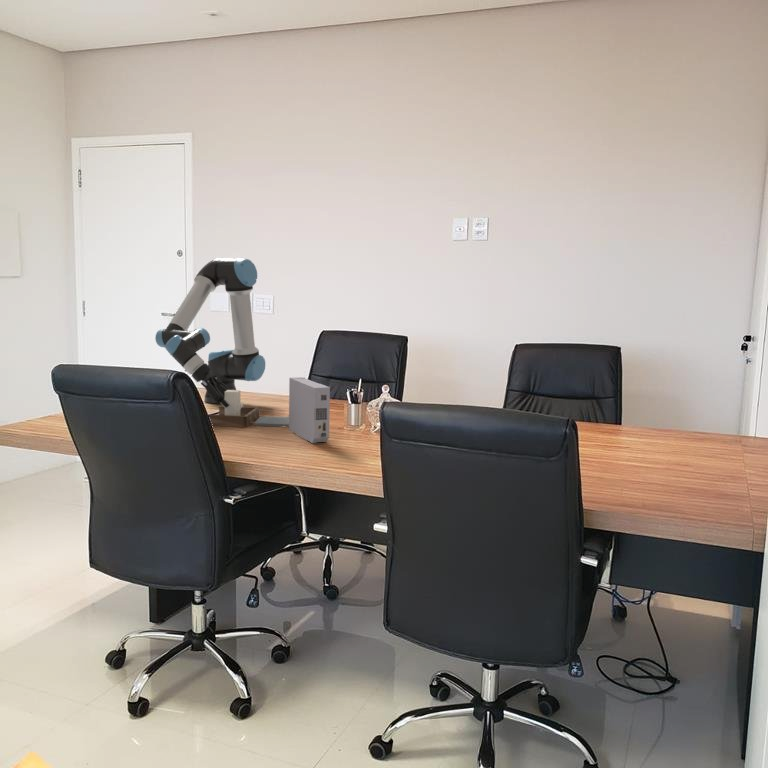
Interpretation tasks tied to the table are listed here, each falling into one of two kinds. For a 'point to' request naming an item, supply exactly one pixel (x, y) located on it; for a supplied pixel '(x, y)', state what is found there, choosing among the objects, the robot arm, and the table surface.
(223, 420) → the brown wooden tray
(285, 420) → the mat
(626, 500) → the table surface
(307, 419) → the game console
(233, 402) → the cream block
